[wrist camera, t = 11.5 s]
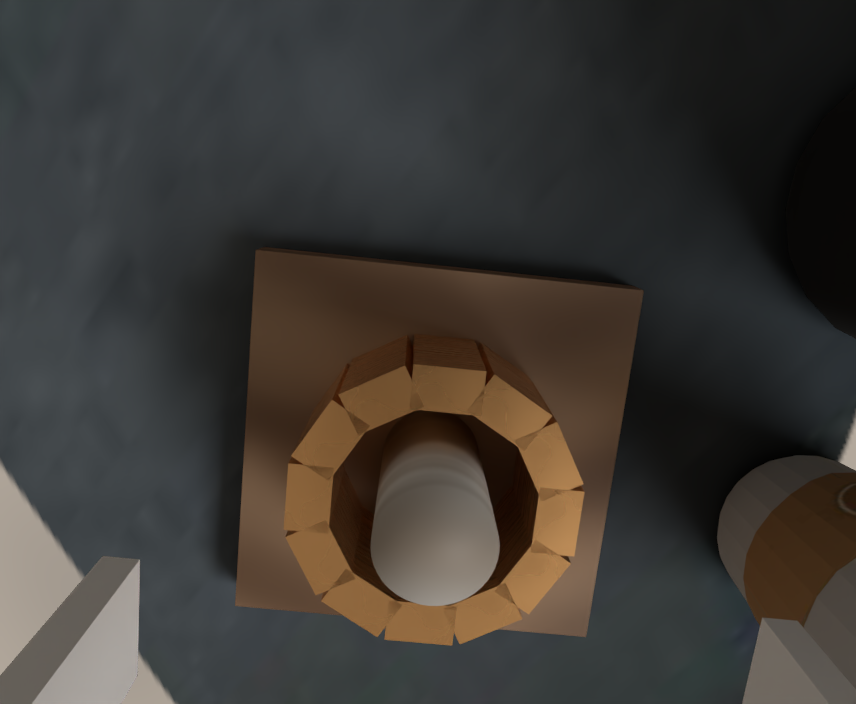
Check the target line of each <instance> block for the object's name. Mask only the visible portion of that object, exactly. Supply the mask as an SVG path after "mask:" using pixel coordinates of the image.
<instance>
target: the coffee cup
mask: <svg viewBox="0 0 856 704" xmlns="http://www.w3.org/2000/svg"><path fill="white" fill-rule="evenodd" d="M717 542H718V548H719V554H720V558H721V560H722V562H723V564H724V566H725V568H726V570H727V572H728V574H729V575H730V577H731V578H732V580H733V581H734V583H735V584H736V586H737V587H738V589H739V590H740V592H741V593H742V595H743V596H744V598H745V599H746V601H747V602H748V604H749V606H750V608H751V610H752V612H753V615H754V617H755V619H756V620H757V622H758V623H759V625H761V621H762V618H773V619H783V620H794V621H798V622H799V623H800V624H801V625H802V627H803V628H804V629H805V630H806V631H807V632H808V634H809V635H810V636H811V637H812V638H813V640H814V641H815V642H816V643H817V644H818V645H819V647H820V648H821V649H822V650H823V651H824V653H825V654H826V655H827V656H828V657H829V658H830V660H831V661H832V662H833V663H834V664H835V665H836V667H837V668H838V669H839V670H840V671H841V673H842V674H843V675H844V676H845V677H846V678H847V680H848V681H849V682H850V683H851V684H852V685H853V687H854V688H855V689H856V471H855V470H853V469H851V468H849V467H847V466H845V465H843V464H841V463H839V462H837V461H834V460H830V459H827V458H823V457H820V456H805V455H795V456H791V457H785V458H781V459H776V460H772V461H769V462H767V463H765V464H763V465H761V466H759V467H757V468H755V469H753V470H751V471H750V472H749V473H748V474H747V475H745V476H744V477H743V478H742V479H741V480H739V481H738V482H737V484H736V485H735V486H734V488H733V489H732V490H731V492H730V493H729V494H728V496H727V498H726V500H725V503H724V505H723V507H722V510H721V512H720V518H719V525H718V533H717Z"/></svg>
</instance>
